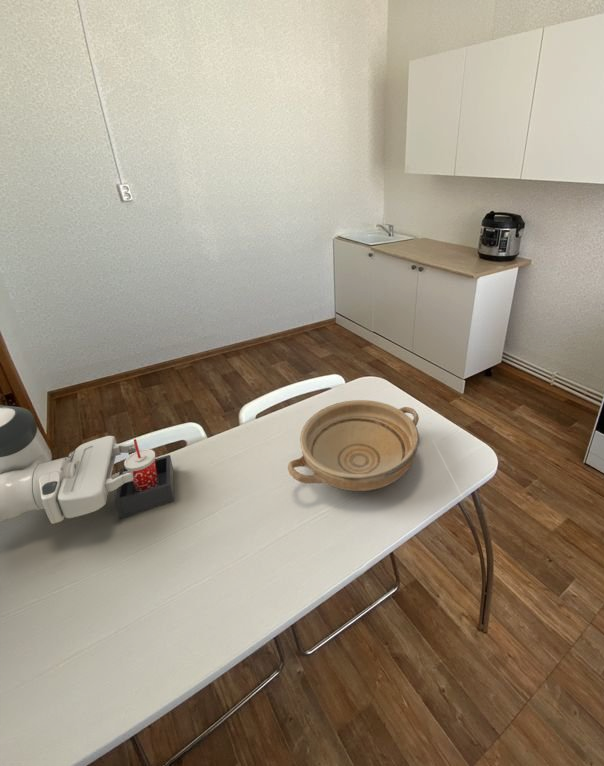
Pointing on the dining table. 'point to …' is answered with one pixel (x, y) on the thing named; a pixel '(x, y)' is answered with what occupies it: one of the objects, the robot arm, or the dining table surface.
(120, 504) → the case
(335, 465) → the ceramic bowl
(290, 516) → the dining table surface
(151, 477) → the beverage cup
